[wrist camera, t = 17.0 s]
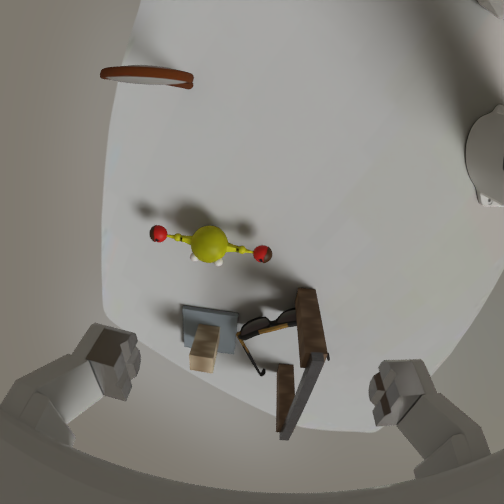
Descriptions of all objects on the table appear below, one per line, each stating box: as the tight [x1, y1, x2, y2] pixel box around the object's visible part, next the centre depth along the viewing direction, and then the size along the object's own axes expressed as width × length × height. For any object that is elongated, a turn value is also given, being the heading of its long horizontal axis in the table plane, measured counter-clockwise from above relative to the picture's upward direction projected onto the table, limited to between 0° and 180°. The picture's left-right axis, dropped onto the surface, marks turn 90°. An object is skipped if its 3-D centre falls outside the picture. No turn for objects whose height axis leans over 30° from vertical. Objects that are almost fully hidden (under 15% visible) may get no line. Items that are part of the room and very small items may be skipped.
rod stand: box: [276, 288, 328, 432], centre depth 48 cm, size 3×22×15 cm, turn 174°
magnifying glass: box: [100, 65, 194, 89], centre depth 27 cm, size 9×2×20 cm, turn 78°
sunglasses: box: [236, 308, 330, 376], centre depth 52 cm, size 14×15×5 cm
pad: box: [183, 305, 238, 354], centre depth 54 cm, size 10×10×1 cm
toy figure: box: [150, 225, 272, 266], centre depth 43 cm, size 18×6×7 cm, turn 79°
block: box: [189, 324, 220, 373], centre depth 50 cm, size 4×4×8 cm
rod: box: [280, 352, 324, 440], centre depth 40 cm, size 2×23×2 cm, turn 174°
